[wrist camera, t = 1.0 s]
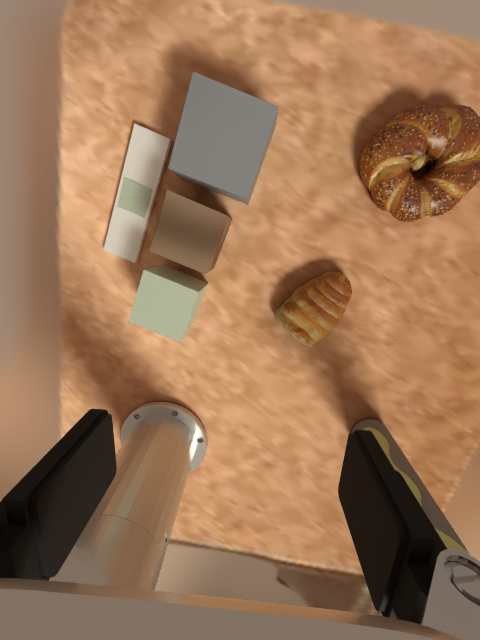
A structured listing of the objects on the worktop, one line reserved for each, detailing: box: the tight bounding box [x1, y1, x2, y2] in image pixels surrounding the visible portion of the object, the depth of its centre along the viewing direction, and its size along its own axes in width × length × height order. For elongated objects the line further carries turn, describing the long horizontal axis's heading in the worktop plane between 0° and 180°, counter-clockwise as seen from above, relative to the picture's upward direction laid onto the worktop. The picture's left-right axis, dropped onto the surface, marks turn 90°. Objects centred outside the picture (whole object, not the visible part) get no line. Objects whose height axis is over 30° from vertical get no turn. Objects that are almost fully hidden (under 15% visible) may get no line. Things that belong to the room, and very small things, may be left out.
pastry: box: [274, 272, 352, 347], centre depth 32 cm, size 9×7×4 cm
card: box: [104, 123, 172, 263], centre depth 31 cm, size 14×4×1 cm, turn 158°
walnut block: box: [149, 190, 232, 274], centre depth 30 cm, size 6×6×6 cm
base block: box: [168, 72, 279, 205], centre depth 28 cm, size 8×8×5 cm
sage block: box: [128, 265, 208, 342], centre depth 32 cm, size 6×6×6 cm
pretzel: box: [359, 105, 480, 222], centre depth 28 cm, size 12×11×4 cm
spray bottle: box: [352, 419, 469, 555], centre depth 29 cm, size 5×5×20 cm
